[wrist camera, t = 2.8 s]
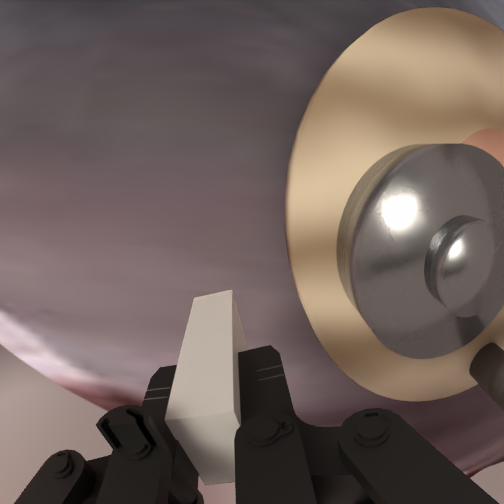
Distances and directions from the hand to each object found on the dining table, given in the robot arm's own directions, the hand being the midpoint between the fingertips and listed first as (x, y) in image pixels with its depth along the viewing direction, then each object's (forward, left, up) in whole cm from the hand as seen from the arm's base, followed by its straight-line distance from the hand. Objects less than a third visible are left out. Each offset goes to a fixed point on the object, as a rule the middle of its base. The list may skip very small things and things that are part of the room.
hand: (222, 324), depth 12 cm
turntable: (0, +17, -5) cm, 17 cm away
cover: (0, +11, -2) cm, 11 cm away
